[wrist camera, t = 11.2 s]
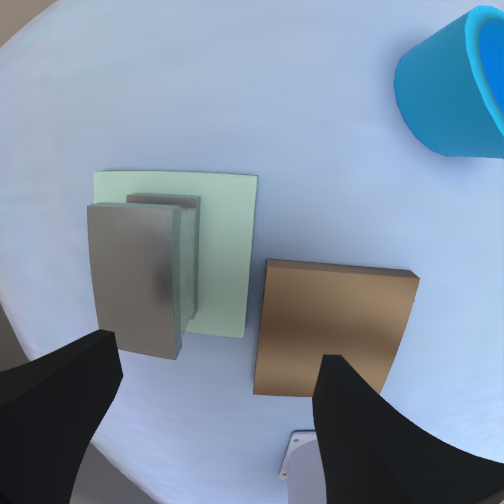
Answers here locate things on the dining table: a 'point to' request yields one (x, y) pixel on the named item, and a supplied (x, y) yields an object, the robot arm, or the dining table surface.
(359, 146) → the dining table surface
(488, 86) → the mug
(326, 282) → the stand
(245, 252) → the stand
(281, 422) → the dining table surface
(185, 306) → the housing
